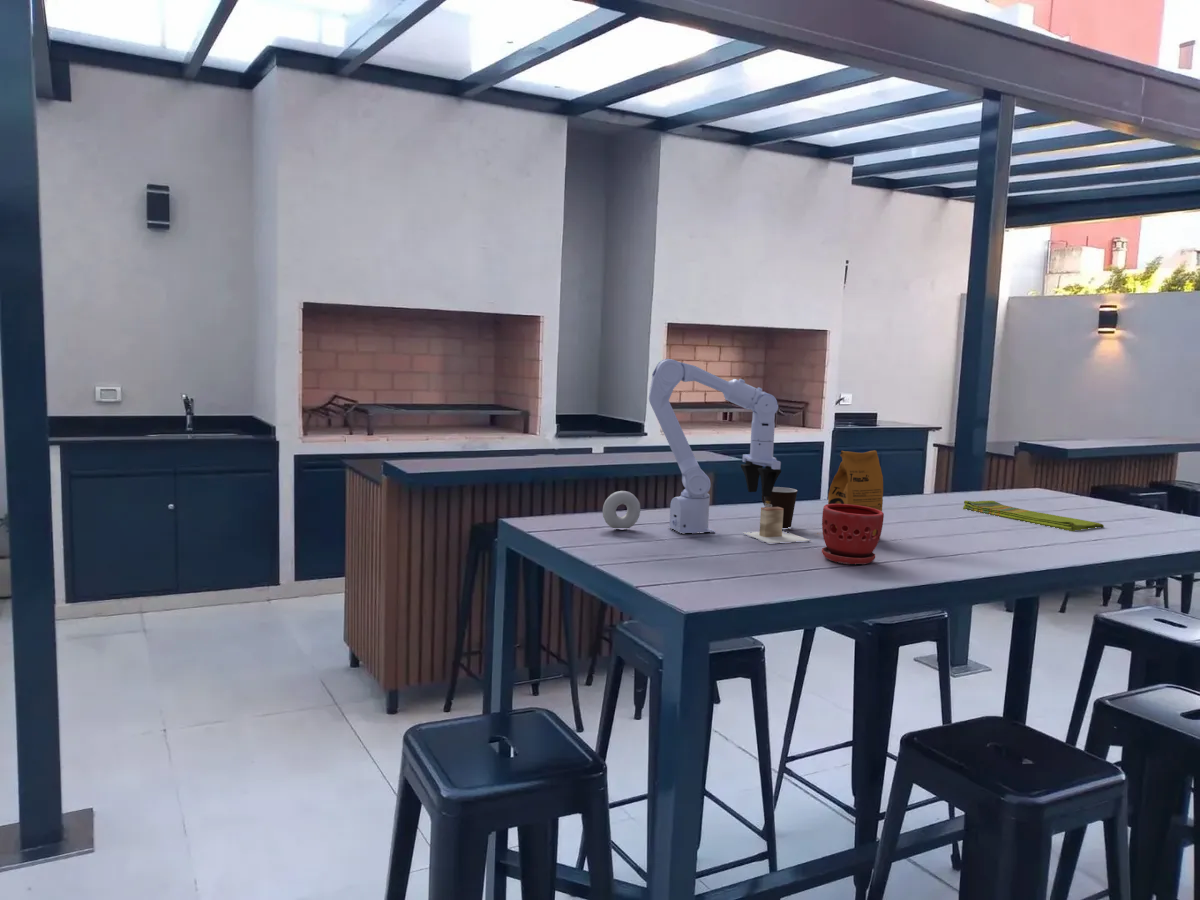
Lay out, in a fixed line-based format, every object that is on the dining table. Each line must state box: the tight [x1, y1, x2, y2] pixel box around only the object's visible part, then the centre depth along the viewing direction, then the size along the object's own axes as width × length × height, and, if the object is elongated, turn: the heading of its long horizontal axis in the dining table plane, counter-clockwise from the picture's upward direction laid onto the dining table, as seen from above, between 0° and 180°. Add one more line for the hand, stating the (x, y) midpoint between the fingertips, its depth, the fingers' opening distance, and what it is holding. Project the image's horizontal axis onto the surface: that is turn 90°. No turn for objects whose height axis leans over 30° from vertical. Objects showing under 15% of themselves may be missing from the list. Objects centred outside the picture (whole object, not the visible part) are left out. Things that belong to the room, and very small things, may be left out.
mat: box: [743, 530, 812, 543], centre depth 228 cm, size 12×12×1 cm
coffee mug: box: [761, 486, 798, 528], centre depth 242 cm, size 12×9×10 cm
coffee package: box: [827, 450, 884, 536], centre depth 230 cm, size 10×12×22 cm
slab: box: [759, 506, 784, 537], centre depth 228 cm, size 5×2×7 cm, turn 113°
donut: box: [602, 490, 641, 529], centre depth 230 cm, size 10×4×10 cm, turn 110°
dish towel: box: [962, 500, 1105, 532], centre depth 268 cm, size 15×36×3 cm, turn 30°
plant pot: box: [821, 503, 885, 566], centre depth 205 cm, size 13×13×12 cm
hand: (759, 494), depth 232 cm, fingers open, 6 cm apart
